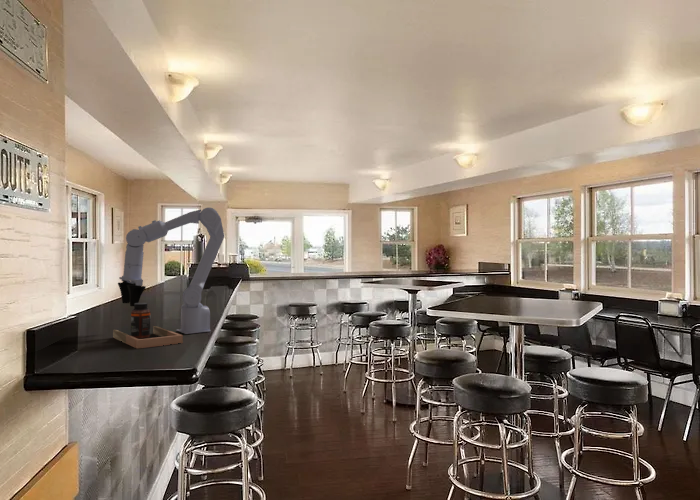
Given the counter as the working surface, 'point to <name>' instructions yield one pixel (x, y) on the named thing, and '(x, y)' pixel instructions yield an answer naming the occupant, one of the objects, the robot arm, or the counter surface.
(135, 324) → the supplement bottle
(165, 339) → the bay
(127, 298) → the robot arm
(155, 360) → the counter surface
